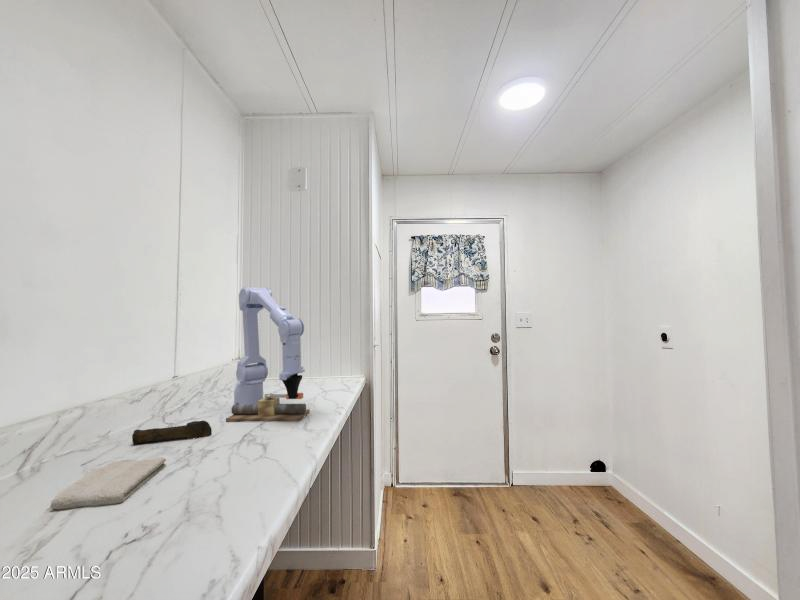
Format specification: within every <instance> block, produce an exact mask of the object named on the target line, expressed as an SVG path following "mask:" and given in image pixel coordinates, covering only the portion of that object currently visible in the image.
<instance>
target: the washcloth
mask: <svg viewBox="0 0 800 600" xmlns="http://www.w3.org/2000/svg"><path fill="white" fill-rule="evenodd" d="M166 461H167V458H165V457H153V458H149V459H141V460H140V459H125V460H124V459H123V460H115V461H111V462H109V463H107V464H106V465H104V466H103V467H99V468H94V469H92V470H91V472H90V473H88V474H87V475H85V476H84V477H82V478H80V479H78V480H77V481H75V482H74V483H72V484H71V485H70V486H67V488H65V489H63V490H62V491H60V492H59V493H57V494H56V495H55V497H54V498H53V499H52V500H51V504H50V509H53V510H58V511H59V510H66V509H67V510H68V509H74V508H75V509H77V508H81V507H82V508H84V507H98V506H107V505H108V506H109V505H115V504H116V505H117V504H122V503H123V502H125V501H126V500H127V499H128V498H129V497H130V496H132V495H133V494H134V493H135V492H137V491H138V490H139V489H140V488H142V487H143V486H144V485H145V484H146V483H147V482H148V481H150V480H151V479H152V478H153V477H154V476H156V475H157V473H159V472H160V471H162V470H163V469H164V468H166V466H167V464H166V463H165V462H166Z"/></svg>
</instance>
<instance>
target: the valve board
mask: <svg viewBox="0 0 800 600" xmlns="http://www.w3.org/2000/svg"><path fill="white" fill-rule="evenodd" d="M310 410H311V409H307V404H306V403H280V398H265V397H263V399H261V400H259V401H258V404H234V403H233V405H232V407H231V415H230V416H228V417H226V418H225V422H226V423H239V422H240V421H277V422H300V421H302V420H303V419H304V418H305V417H306V416H307V415H308V414H310V413H309V412H310ZM304 416H305V417H304ZM303 417H304V418H303ZM302 418H303V419H302ZM240 423H241V422H240Z"/></svg>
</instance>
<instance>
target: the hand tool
mask: <svg viewBox="0 0 800 600" xmlns="http://www.w3.org/2000/svg"><path fill="white" fill-rule="evenodd" d="M212 432H213V431H212V427H211V424H210V422H208V421H206V420H197V421H196V420H194V421H190V422H187V423H186V425H179V426H178V425H176V426H169V427H163V428H162V427H161V428H160V427H158V428H156V427H155V428H149V429H134V431H133V433H132V435H131V437H132V438H131V440H132V441H131V442H132V445H133V446H135V445H136V446H137V444H139V445H142V444H143V443H151V442H157V441H158V442H159V441H165V440H166V441H167V440H174V439H187V440H193V438H194V439H200V438H205V437H209V436H211V435H212ZM199 437H200V438H199Z"/></svg>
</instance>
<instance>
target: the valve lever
mask: <svg viewBox="0 0 800 600" xmlns="http://www.w3.org/2000/svg"><path fill="white" fill-rule="evenodd" d="M264 398H279V399H280V398H285V399H286V400H290V399H289V397H288V393H287V392H286V393H283V394H282V393H279V394H278V393H277V394H276V393H275V394H274V393H265V394H264ZM303 398H304V392H297V396H296V399H295V400H302V399H303Z"/></svg>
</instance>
